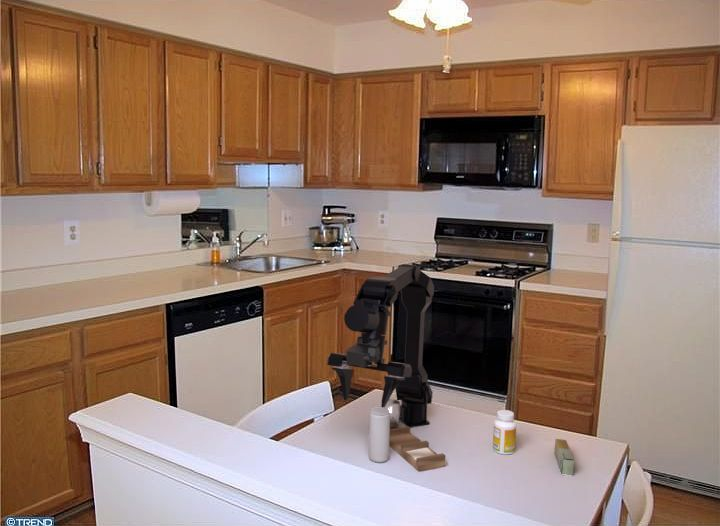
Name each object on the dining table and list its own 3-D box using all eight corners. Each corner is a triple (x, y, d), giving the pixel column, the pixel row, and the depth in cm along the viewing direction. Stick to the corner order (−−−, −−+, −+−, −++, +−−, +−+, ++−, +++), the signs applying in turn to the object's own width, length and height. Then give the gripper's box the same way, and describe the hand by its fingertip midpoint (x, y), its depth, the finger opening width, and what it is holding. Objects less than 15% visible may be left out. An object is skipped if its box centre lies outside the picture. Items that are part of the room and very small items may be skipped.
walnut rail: (370, 429, 167) (370, 419, 167) (394, 425, 170) (394, 415, 170) (418, 471, 144) (419, 460, 143) (445, 466, 146) (445, 455, 146)
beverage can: (387, 464, 147) (388, 415, 145) (366, 462, 148) (367, 413, 146) (390, 455, 152) (391, 407, 150) (370, 453, 153) (371, 406, 151)
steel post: (394, 423, 167) (394, 398, 166) (402, 430, 163) (402, 404, 162) (378, 426, 165) (378, 400, 164) (386, 432, 161) (386, 406, 160)
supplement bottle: (517, 448, 157) (519, 410, 156) (512, 457, 152) (514, 418, 151) (495, 444, 159) (497, 407, 158) (490, 452, 154) (492, 414, 153)
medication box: (573, 477, 143) (575, 460, 142) (561, 475, 143) (562, 459, 143) (564, 454, 155) (566, 438, 154) (553, 453, 155) (554, 437, 154)
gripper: (320, 326, 140) (310, 398, 138) (398, 337, 132) (389, 413, 130) (342, 330, 150) (333, 396, 148) (416, 340, 142) (407, 410, 140)
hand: (364, 403), depth 141 cm, fingers open, 9 cm apart
